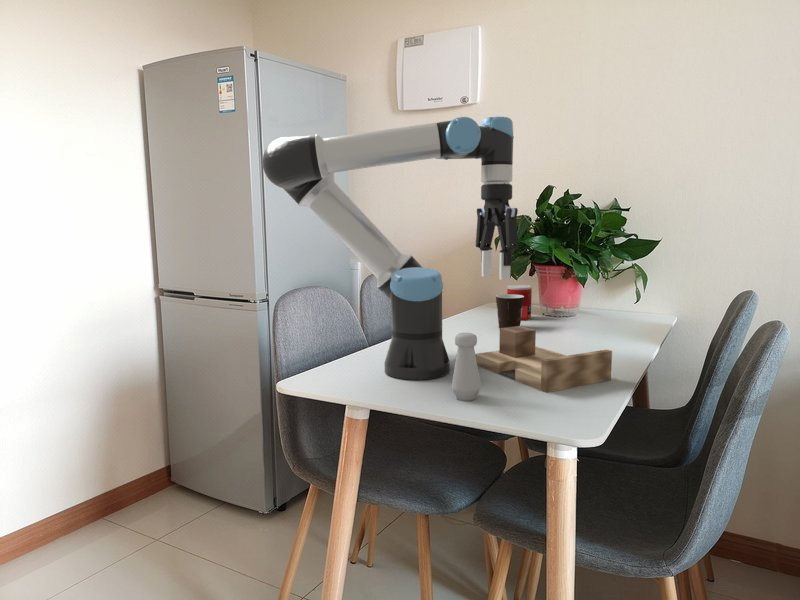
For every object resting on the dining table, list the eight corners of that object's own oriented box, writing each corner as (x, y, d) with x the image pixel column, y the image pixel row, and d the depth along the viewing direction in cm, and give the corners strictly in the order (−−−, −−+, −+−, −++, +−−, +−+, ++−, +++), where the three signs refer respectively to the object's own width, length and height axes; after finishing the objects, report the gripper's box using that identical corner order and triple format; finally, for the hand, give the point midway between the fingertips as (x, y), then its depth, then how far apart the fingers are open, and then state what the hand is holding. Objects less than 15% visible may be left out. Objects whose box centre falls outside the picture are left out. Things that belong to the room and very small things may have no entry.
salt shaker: (469, 391, 125) (470, 329, 123) (486, 399, 120) (487, 334, 118) (445, 396, 122) (445, 332, 120) (461, 404, 117) (461, 337, 115)
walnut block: (514, 358, 142) (515, 332, 141) (499, 352, 147) (499, 328, 146) (535, 354, 144) (535, 330, 143) (519, 349, 150) (519, 325, 149)
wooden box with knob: (545, 392, 123) (546, 361, 122) (473, 364, 146) (474, 337, 145) (610, 380, 131) (612, 350, 130) (533, 355, 154) (533, 330, 153)
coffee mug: (504, 324, 196) (504, 293, 194) (528, 327, 190) (529, 295, 189) (484, 330, 187) (485, 297, 185) (509, 333, 181) (510, 300, 180)
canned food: (533, 320, 202) (533, 287, 200) (509, 320, 201) (509, 287, 200) (528, 316, 209) (528, 284, 207) (505, 316, 209) (505, 285, 207)
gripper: (535, 181, 140) (533, 280, 144) (485, 185, 158) (485, 273, 161) (509, 181, 137) (507, 282, 141) (461, 185, 155) (461, 275, 158)
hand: (495, 277), depth 151 cm, fingers open, 7 cm apart
